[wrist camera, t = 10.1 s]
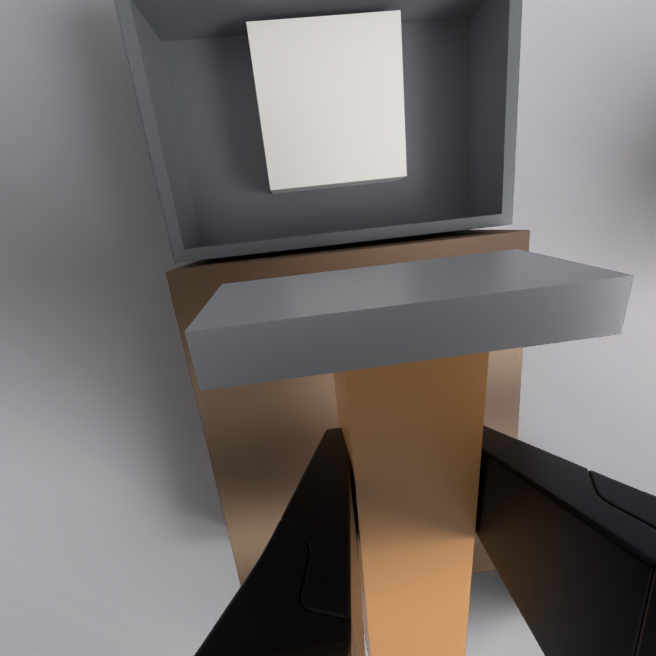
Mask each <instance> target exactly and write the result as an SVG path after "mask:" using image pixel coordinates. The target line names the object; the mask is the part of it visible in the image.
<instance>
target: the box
mask: <svg viewBox="0 0 656 656" xmlns="http://www.w3.org/2000/svg"><path fill="white" fill-rule="evenodd" d="M114 1H115V5H116V9H117V14H118V18H119V22H120V27H121V31H122V35H123V40H124V44H125V48H126V53H127V57H128V61H129V66H130V70H131V74H132V79H133V83H134V87H135V92H136V96H137V100H138V105H139V109H140V113H141V118H142V122H143V127H144V131H145V135H146V140H147V144H148V148H149V153H150V157H151V161H152V166H153V170H154V174H155V179H156V183H157V187H158V192H159V196H160V200H161V205H162V209H163V213H164V218H165V222H166V226H167V231H168V235H169V239H170V244H171V248H172V253H173V257H174V261H175V263H177V262H186V261H195V260H204V259H212V258H221V257H230V256H239V255H247V254H256V253H265V252H274V251H283V250H291V249H300V248H309V247H318V246H326V245H335V244H344V243H353V242H362V241H370V240H379V239H388V238H397V237H405V236H414V235H423V234H432V233H441V232H449V231H458V230H467V229H476V228H484V227H493V226H502V225H511V224H512V216H513V194H514V172H515V150H516V128H517V106H518V84H519V62H520V40H521V18H522V0H114ZM395 10H401V33H402V59H403V85H404V112H405V138H406V165H407V176H406V177H404V178H402V179H399V180H397V181H394V182H385V183H375V184H366V185H356V186H347V187H337V188H328V189H318V190H309V191H299V192H290V193H280V194H272V192H271V191H270V184H269V177H268V170H267V163H266V156H265V150H264V143H263V136H262V129H261V122H260V115H259V108H258V101H257V94H256V87H255V80H254V73H253V66H252V59H251V52H250V45H249V39H248V32H247V25H246V22H250V21H263V20H276V19H289V18H303V17H316V16H329V15H342V14H356V13H369V12H382V11H395Z"/></svg>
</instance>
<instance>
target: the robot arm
mask: <svg viewBox="0 0 656 656" xmlns="http://www.w3.org/2000/svg"><path fill="white" fill-rule="evenodd" d="M475 533H476V535H477V537H478V538H479V540H480V542H481V544H482V545H483V547H484V549H485V551H486V552H487V554H488V556H489V558H490V559H491V561H492V563H493V565H494V567H495V568H496V570H497V572H498V574H499V575H500V577H501V579H502V581H503V582H504V584H505V586H506V588H507V589H508V591H509V593H510V595H511V596H512V598H513V600H514V602H515V604H516V605H517V607H518V609H519V611H520V612H521V614H522V616H523V618H524V619H525V621H526V623H527V625H528V626H529V628H530V630H531V632H532V633H533V635H534V637H535V639H536V641H537V642H538V644H539V646H540V648H541V649H542V651H543V653H544V655H545V656H656V496H654V495H651V494H648V493H646V492H643V491H640V490H638V489H635V488H633V487H631V486H628V485H626V484H623V483H621V482H618V481H616V480H613V479H611V478H608V477H606V476H604V475H601V474H599V473H597V472H594V471H592V470H590V471H588V469H587V468H584V467H582V466H580V465H577V464H575V463H572V462H570V461H568V460H565V459H563V458H561V457H558V456H556V455H553V454H551V453H549V452H546V451H544V450H541V449H539V448H537V447H534V446H532V445H530V444H527V443H525V442H522V441H520V440H518V439H515V438H513V437H510V436H508V435H506V434H503V433H501V432H499V431H496V430H494V429H491V428H489V427H487V426H484V425H483V437H482V450H481V462H480V475H479V488H478V500H477V513H476V525H475ZM194 656H365V646H364V630H363V614H362V597H361V581H360V564H359V548H358V532H357V522H356V512H355V502H354V493H353V483H352V473H351V463H350V457H349V453H348V449H347V446H346V442H345V439H344V435H343V432H342V428H340V427H338V428H331V429H327V430H326V431H325V433H324V435H323V437H322V439H321V441H320V443H319V444H318V446H317V448H316V450H315V452H314V454H313V456H312V458H311V460H310V462H309V464H308V466H307V468H306V470H305V472H304V474H303V476H302V478H301V480H300V482H299V484H298V486H297V488H296V490H295V492H294V493H293V495H292V497H291V499H290V501H289V503H288V505H287V507H286V509H285V511H284V513H283V515H282V517H281V520H280V521H279V522H278V524H277V526H276V528H275V530H274V532H273V534H272V536H271V538H270V540H269V542H268V543H267V545H266V547H265V549H264V551H263V552H262V554H261V556H260V558H259V559H258V561H257V562H256V564H255V565H254V567H253V569H252V570H251V572H250V573H249V575H248V576H247V578H246V580H245V581H244V583H243V584H242V586H241V587H240V589H239V590H238V591H237V593H236V594H235V596H234V597H233V599H232V600H231V602H230V603H229V605H228V606H227V608H226V609H225V611H224V612H223V614H222V615H221V617H220V618H219V620H218V621H217V623H216V624H215V626H214V627H213V629H212V630H211V632H210V633H209V635H208V636H207V638H206V639H205V641H204V642H203V643H202V645H201V646H200V648H199V649H198V651H197V652H196V654H195V655H194Z"/></svg>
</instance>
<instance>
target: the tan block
mask: <svg viewBox="0 0 656 656" xmlns="http://www.w3.org/2000/svg"><path fill="white" fill-rule="evenodd" d="M529 235H530V230H464V231H455V232H447V233H438V234H429V235H420V236H412V237H403V238H394V239H385V240H377V241H368V242H359V243H350V244H342V245H333V246H324V247H315V248H306V249H298V250H289V251H280V252H271V253H263V254H254V255H245V256H236V257H228V258H219V259H210V260H201V261H197V262H194V263H191V264H188V265H185V266H182V267H180V268H177V269H174V270H171V271H168V272H166V275H167V279H168V283H169V288H170V292H171V296H172V300H173V304H174V308H175V313H176V317H177V321H178V325H179V329H180V334H181V338H182V342H183V346H184V350H185V354H186V359H187V363H188V367H189V371H190V375H191V379H192V384H193V388H194V392H195V396H196V400H197V405H198V409H199V413H200V417H201V421H202V425H203V430H204V434H205V438H206V442H207V446H208V450H209V455H210V459H211V463H212V467H213V471H214V475H215V480H216V484H217V488H218V492H219V496H220V501H221V505H222V509H223V513H224V517H225V521H226V526H227V530H228V534H229V538H230V542H231V546H232V551H233V555H234V559H235V563H236V567H237V572H238V576H239V580H240V584H241V586H242V584H243V583H244V581H245V580H246V578H247V576H248V575H249V573H250V572H251V570H252V569H253V567H254V565H255V564H256V562H257V561H258V559H259V558H260V556H261V554H262V552H263V551H264V549H265V547H266V545H267V543H268V542H269V540H270V538H271V536H272V534H273V532H274V530H275V528H276V526H277V524H278V522H279V521H280V520H281V517H282V515H283V513H284V511H285V509H286V507H287V505H288V503H289V501H290V499H291V497H292V495H293V493H294V492H295V490H296V488H297V486H298V484H299V482H300V480H301V478H302V476H303V474H304V472H305V470H306V468H307V466H308V464H309V462H310V460H311V458H312V456H313V454H314V452H315V450H316V448H317V446H318V444H319V443H320V441H321V439H322V437H323V435H324V433H325V431H326V430H327V429H331V428H338V427H339V424H338V415H337V405H336V396H335V386H334V376H333V373H328V374H321V375H314V376H306V377H299V378H291V379H284V380H277V381H269V382H262V383H254V384H247V385H240V386H232V387H225V388H218V389H210V390H203V391H200V388H199V385H198V381H197V377H196V374H195V370H194V366H193V362H192V359H191V355H190V351H189V347H188V344H187V340H186V336H185V330H186V329H187V328H188V327H189V325H190V324H191V323H192V322H193V320H194V319H195V318H196V316H197V315H198V314H199V313H200V311H201V310H202V309H203V308H204V306H205V305H206V304H207V303H208V301H209V300H210V299H211V297H212V296H213V295H214V294H215V292H216V291H217V290H218V289H219V287H220V286H221V285H222V284H226V283H235V282H243V281H252V280H260V279H269V278H277V277H286V276H294V275H303V274H311V273H320V272H328V271H337V270H345V269H354V268H362V267H371V266H379V265H387V264H396V263H404V262H413V261H421V260H430V259H438V258H447V257H455V256H464V255H472V254H481V253H489V252H498V251H506V250H515V249H519V250H524V251H528V252H529ZM522 353H523V347H520V348H513V349H505V350H498V351H491V352H489V362H488V374H487V387H486V399H485V412H484V426H487V427H489V428H491V429H494V430H496V431H499V432H501V433H503V434H506V435H508V436H510V437H513V438H515V439H517V436H518V419H519V403H520V386H521V369H522ZM493 570H496V568H495V567H494V565H493V563H492V561H491V559H490V558H489V556H488V554H487V552H486V551H485V549H484V547H483V545H482V544H481V542H480V540H479V538H478V537H477V535H476V533H475V538H474V551H473V563H472V574H475V573H481V572H487V571H493Z"/></svg>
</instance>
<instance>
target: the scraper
mask: <svg viewBox="0 0 656 656" xmlns="http://www.w3.org/2000/svg"><path fill="white" fill-rule="evenodd" d="M633 277H634V275H629V274H625V273H620V272H616V271H612V270H607V269H603V268H598V267H594V266H590V265H585V264H581V263H576V262H572V261H568V260H563V259H559V258H554V257H550V256H546V255H541V254H537V253H532V252H528V251H524V250H519V249H515V250H506V251H498V252H489V253H481V254H472V255H464V256H455V257H447V258H438V259H430V260H421V261H413V262H404V263H396V264H387V265H379V266H371V267H362V268H354V269H345V270H337V271H328V272H320V273H311V274H303V275H294V276H286V277H277V278H269V279H260V280H252V281H243V282H235V283H226V284H222V285H221V286H220V287H219V289H218V290H217V291H216V292H215V294H214V295H213V296H212V297H211V299H210V300H209V301H208V303H207V304H206V305H205V306H204V308H203V309H202V310H201V311H200V313H199V314H198V315H197V316H196V318H195V319H194V320H193V322H192V323H191V324H190V325H189V327H188V328H187V329H186V330H185V336H186V340H187V344H188V347H189V351H190V355H191V359H192V362H193V366H194V370H195V374H196V377H197V381H198V385H199V388H200V391H203V390H210V389H218V388H225V387H232V386H240V385H247V384H254V383H262V382H269V381H277V380H284V379H291V378H299V377H306V376H314V375H321V374H328V373H333V376H334V386H335V396H336V405H337V415H338V424H339V427H340V428H342V432H343V435H344V439H345V442H346V446H347V449H348V453H349V457H350V463H351V473H352V483H353V493H354V502H355V512H356V522H357V532H358V548H359V564H360V581H361V597H362V614H363V627H364V633H365V639H366V645H367V651H368V656H465V651H466V639H467V626H468V613H469V601H470V588H471V576H472V563H473V551H474V538H475V525H476V513H477V500H478V488H479V475H480V462H481V450H482V437H483V425H484V412H485V399H486V387H487V374H488V362H489V352H491V351H498V350H505V349H513V348H520V347H527V346H535V345H542V344H550V343H557V342H564V341H572V340H579V339H587V338H594V337H601V336H609V335H616V334H621V330H622V326H623V321H624V317H625V312H626V308H627V304H628V299H629V295H630V290H631V286H632V282H633Z"/></svg>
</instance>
